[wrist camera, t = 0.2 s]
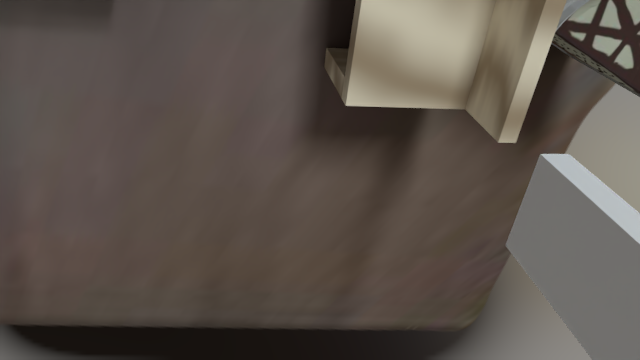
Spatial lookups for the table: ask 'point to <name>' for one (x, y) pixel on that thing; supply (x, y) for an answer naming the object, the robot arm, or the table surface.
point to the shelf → (448, 57)
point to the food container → (603, 38)
